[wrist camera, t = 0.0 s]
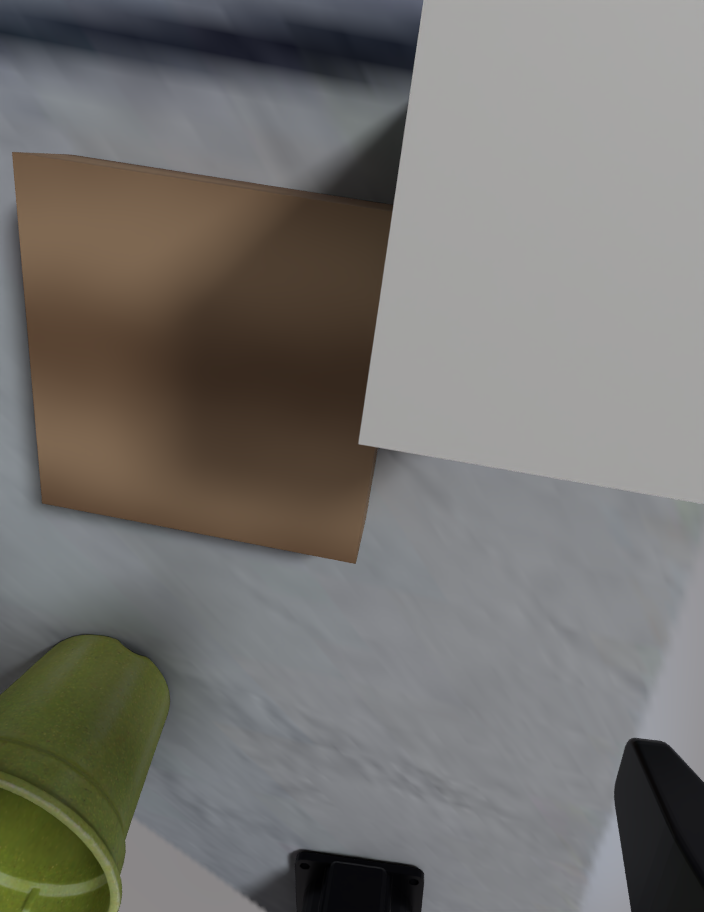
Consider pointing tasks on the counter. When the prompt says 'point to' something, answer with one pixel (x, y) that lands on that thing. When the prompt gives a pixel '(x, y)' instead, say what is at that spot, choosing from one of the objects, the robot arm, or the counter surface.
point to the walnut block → (201, 349)
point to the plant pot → (74, 773)
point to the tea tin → (549, 246)
